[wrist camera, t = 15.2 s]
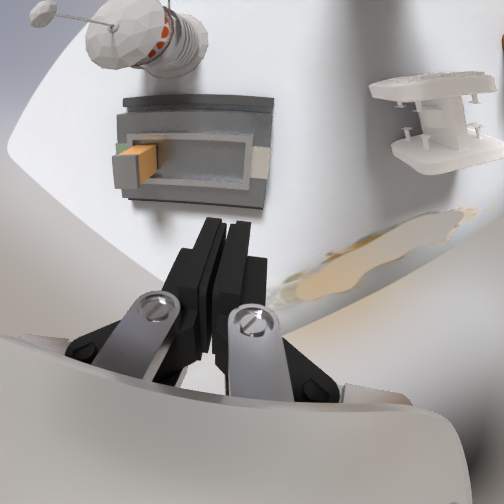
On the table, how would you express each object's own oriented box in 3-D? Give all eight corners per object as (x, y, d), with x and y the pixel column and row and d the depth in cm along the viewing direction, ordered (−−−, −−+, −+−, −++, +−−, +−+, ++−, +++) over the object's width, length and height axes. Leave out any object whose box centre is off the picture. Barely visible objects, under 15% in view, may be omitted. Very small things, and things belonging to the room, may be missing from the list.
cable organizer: (382, 154, 34) (420, 182, 24) (361, 81, 29) (398, 80, 19) (463, 135, 30) (511, 158, 21) (449, 68, 25) (500, 72, 16)
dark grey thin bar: (131, 189, 39) (127, 192, 38) (263, 198, 39) (263, 201, 38) (131, 196, 40) (128, 199, 39) (263, 206, 40) (262, 209, 39)
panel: (125, 112, 33) (111, 116, 29) (274, 113, 33) (274, 116, 29) (129, 190, 39) (118, 200, 36) (265, 199, 39) (264, 210, 36)
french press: (134, 79, 30) (-17, 102, 9) (145, 5, 24) (12, -42, 3) (203, 79, 30) (87, 77, 10) (215, 1, 24) (133, -97, 3)
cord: (126, 98, 32) (122, 98, 31) (274, 98, 31) (274, 98, 30) (126, 106, 32) (122, 107, 31) (273, 107, 32) (273, 107, 31)
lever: (135, 144, 32) (111, 156, 27) (156, 143, 32) (135, 156, 27) (137, 171, 34) (114, 188, 29) (157, 171, 34) (137, 189, 29)
